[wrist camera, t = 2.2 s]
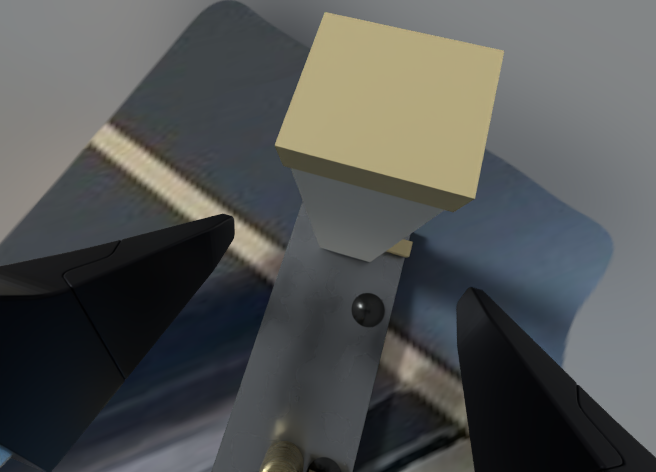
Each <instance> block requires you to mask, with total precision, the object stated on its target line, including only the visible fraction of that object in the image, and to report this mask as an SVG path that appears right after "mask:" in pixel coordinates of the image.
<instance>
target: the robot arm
mask: <svg viewBox="0 0 656 472" xmlns="http://www.w3.org/2000/svg"><path fill="white" fill-rule="evenodd" d="M234 235H235V229H234V218H233V217H232V216H229V215H226V214H219V215H216V216H212V217H208V218H204V219H200V220H196V221H192V222H188V223H184V224H180V225H177V226H173V227H169V228H165V229H161V230H157V231H153V232H149V233H145V234H141V235H137V236H134V237H130V238H126V239H122V240H118V241H114V242H110V243H106V244H102V245H98V246H94V247H90V248H85V249H81V250H76V251H71V252H67V253H62V254H57V255H52V256H47V257H43V258H38V259H33V260H28V261H23V262H18V263H13V264H8V265H3V266H0V468H1V467H2V466H3V465H4V464H5V463H6V462H7V461H8V460H9V459H10V458H13V459H15V460H18V461H20V462H23V463H25V464H27V465H30V466H32V467H35V468H37V469H40V470H42V471H44V472H51V471H52V470H53V469H54V468H55V467H56V466H57V464H58V463H59V462H60V461H61V460H62V458H63V457H64V456H65V455H66V453H67V452H68V451H69V450H70V448H71V447H72V446H73V445H74V443H75V442H76V441H77V440H78V438H79V437H80V436H81V435H82V433H83V432H84V431H85V430H86V428H87V427H88V426H89V425H90V424H91V422H92V421H93V420H94V419H95V417H96V416H97V415H98V414H99V412H100V411H101V410H102V409H103V407H104V406H105V405H106V404H107V402H108V401H109V400H110V399H111V397H112V396H113V395H114V394H115V393H116V391H117V390H118V389H119V388H120V386H121V385H122V384H123V383H124V381H125V379H127V377H128V376H129V375H130V374H131V372H132V371H133V370H134V369H135V367H136V366H137V365H138V364H139V362H140V361H141V360H142V359H143V357H144V356H145V355H146V354H147V352H148V351H149V350H150V349H151V348H152V346H153V345H154V344H155V343H156V341H157V340H158V339H159V338H160V336H161V335H162V334H163V333H164V331H165V330H166V329H167V328H168V326H169V325H170V324H171V323H172V321H173V320H174V319H175V318H176V316H177V315H178V314H179V313H180V312H181V310H182V309H183V308H184V307H185V305H186V304H187V303H188V302H189V300H190V299H191V298H192V297H193V295H194V294H195V293H196V292H197V290H198V289H199V288H200V287H201V285H202V284H203V283H204V282H205V281H206V279H207V278H208V277H209V276H210V274H211V273H212V272H213V270H214V269H215V267H216V266H217V264H218V263H219V261H220V260H221V258H222V257H223V255H224V253H225V252H226V250H227V249H228V247H229V245H230V244H231V242H232V241H233V239H234ZM456 312H457V347H458V355H459V363H460V370H461V377H462V384H463V391H464V398H465V405H466V412H467V419H468V426H469V434H470V441H471V448H472V455H473V462H474V469H475V472H656V458H655V456H653V455H652V454H651V453H650V452H649V451H648V450H647V449H646V448H645V447H644V446H642V445H641V444H640V443H639V442H638V441H637V440H636V439H635V438H633V436H632V435H630V434H629V433H628V432H627V431H626V430H625V429H624V428H623V427H622V426H621V425H620V424H619V423H617V422H616V421H615V420H614V419H613V418H612V417H611V416H610V415H609V414H608V413H607V412H606V411H605V410H604V409H603V408H602V407H601V406H600V405H599V404H598V403H597V402H595V401H594V400H593V399H592V398H591V397H590V396H589V395H588V394H587V393H586V392H585V391H584V390H583V389H582V388H581V387H580V386H579V385H576V382H575V381H574V380H573V379H572V378H571V377H570V376H569V375H568V374H567V373H566V372H565V371H564V370H563V369H562V368H561V367H560V366H559V365H558V364H557V363H556V362H555V361H554V360H553V359H552V358H551V357H550V356H549V355H548V354H547V353H546V352H545V351H544V350H543V349H542V348H541V347H540V346H539V345H538V344H537V343H536V342H535V341H534V340H533V339H532V338H531V337H530V336H528V335H527V334H526V333H525V332H524V331H523V330H522V329H521V328H520V327H519V326H518V325H517V324H516V323H515V322H514V321H513V320H512V319H511V318H510V317H509V316H508V315H507V314H506V313H505V312H504V311H503V310H502V309H501V308H500V307H499V306H498V305H497V304H496V303H495V302H494V301H493V300H492V299H491V298H490V297H489V296H488V295H487V294H486V293H485V292H484V291H483V290H480V289H477V288H473V287H470V288H468V289H467V290H466V292H465V293H464V294H463V296H462V297H461V298H460V300H459V301H458V303H457V307H456Z"/></svg>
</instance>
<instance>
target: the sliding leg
mask: <svg viewBox="0 0 656 472" xmlns="http://www.w3.org/2000/svg"><path fill="white" fill-rule="evenodd" d="M503 54H504V51H503V50H498V49H493V48H489V47H484V46H479V45H475V44H470V43H466V42H461V41H456V40H451V39H447V38H442V37H437V36H432V35H428V34H424V33H419V32H414V31H410V30H405V29H400V28H396V27H391V26H387V25H382V24H377V23H372V22H368V21H364V20H359V19H354V18H350V17H345V16H340V15H336V14H331V13H327V12H325V13H324V16H323V19H322V21H321V24H320V27H319V29H318V32H317V35H316V38H315V40H314V43H313V45H312V48H311V51H310V53H309V56H308V59H307V61H306V64H305V66H304V69H303V72H302V74H301V77H300V80H299V82H298V85H297V88H296V90H295V93H294V96H293V98H292V101H291V104H290V106H289V109H288V112H287V114H286V117H285V119H284V122H283V125H282V127H281V130H280V133H279V135H278V138H277V141H276V143H275V147H276V150H277V152H278V155H279V157H280V159H281V162H282V164H283V166H285V167H289V168H291V170H292V172H293V175H294V178H295V181H296V183H297V186H298V189H299V192H300V194H301V197H302V200H303V203H304V205H305V208H306V211H307V213H308V216H309V219H310V222H311V224H312V227H313V230H314V233H315V235H316V238H317V241H318V244H319V246H320V248H323V249H327V250H330V251H333V252H337V253H340V254H344V255H347V256H350V257H354V258H357V259H360V260H364V261H367V262H371V261H373V260H374V259H375V258H377V257H378V256H380V255H381V254H383V253H384V252H389V253H392V254H396V255H399V256H403V257H406V258H407V257H409V256H410V252H411V247H412V243H413V242H411V241H408V240H404V238H405V237H407V236H408V235H410V234H411V233H412V232H414V231H415V230H417V229H418V228H420V227H421V226H422V225H424V224H425V223H427V222H428V221H429V220H431V219H432V218H434V217H435V216H437V215H438V214H439V213H441V212H442V211H444V210H447V211H451V212H454V211H456V210H458V209H459V208H461V207H462V206H464V205H466V204H467V203H469V202H470V201H472V200H473V199H475V195H476V190H477V185H478V180H479V175H480V170H481V165H482V160H483V155H484V150H485V145H486V140H487V135H488V130H489V124H490V120H491V115H492V109H493V105H494V100H495V95H496V89H497V84H498V80H499V75H500V70H501V64H502V59H503Z"/></svg>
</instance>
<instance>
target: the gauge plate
mask: <svg viewBox="0 0 656 472" xmlns="http://www.w3.org/2000/svg"><path fill="white" fill-rule="evenodd" d="M409 238H410V235H408V236H407V237H405V238H404V240H408V241H409ZM404 259H405V257H403V256H399V255H396V254H392V253H389V252H384V253H383V254H381V255H380V256H378V257H377V258H375V259H374V260H373V261H371V262H367V261H364V260H360V259H357V258H354V257H350V256H347V255H344V254H340V253H337V252H333V251H330V250H327V249H323V248H320V246H319V244H318V241H317V238H316V235H315V233H314V230H313V227H312V224H311V222H310V219H309V216H308V213H307V211H306V208H305V205H304V203H303V202H302V205H301V208H300V211H299V214H298V217H297V220H296V223H295V226H294V229H293V232H292V234H291V237H290V240H289V243H288V246H287V249H286V252H285V255H284V258H283V261H282V264H281V267H280V270H279V273H278V276H277V279H276V282H275V285H274V288H273V291H272V294H271V297H270V300H269V303H268V306H267V309H266V311H265V314H264V317H263V320H262V323H261V326H260V329H259V332H258V335H257V338H256V341H255V344H254V347H253V350H252V353H251V356H250V359H249V362H248V365H247V368H246V371H245V374H244V377H243V380H242V383H241V386H240V388H239V391H238V394H237V397H236V400H235V403H234V406H233V409H232V412H231V415H230V418H229V421H228V424H227V427H226V430H225V433H224V436H223V439H222V442H221V445H220V448H219V451H218V454H217V457H216V460H215V463H214V465H213V468H212V471H211V472H353V467H354V463H355V459H356V455H357V451H358V447H359V443H360V439H361V435H362V431H363V426H364V422H365V418H366V414H367V410H368V406H369V402H370V398H371V394H372V390H373V386H374V381H375V377H376V373H377V369H378V365H379V361H380V357H381V353H382V349H383V345H384V341H385V336H386V332H387V328H388V324H389V320H390V316H391V312H392V308H393V304H394V300H395V296H396V291H397V287H398V283H399V279H400V275H401V271H402V267H403V263H404Z"/></svg>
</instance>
